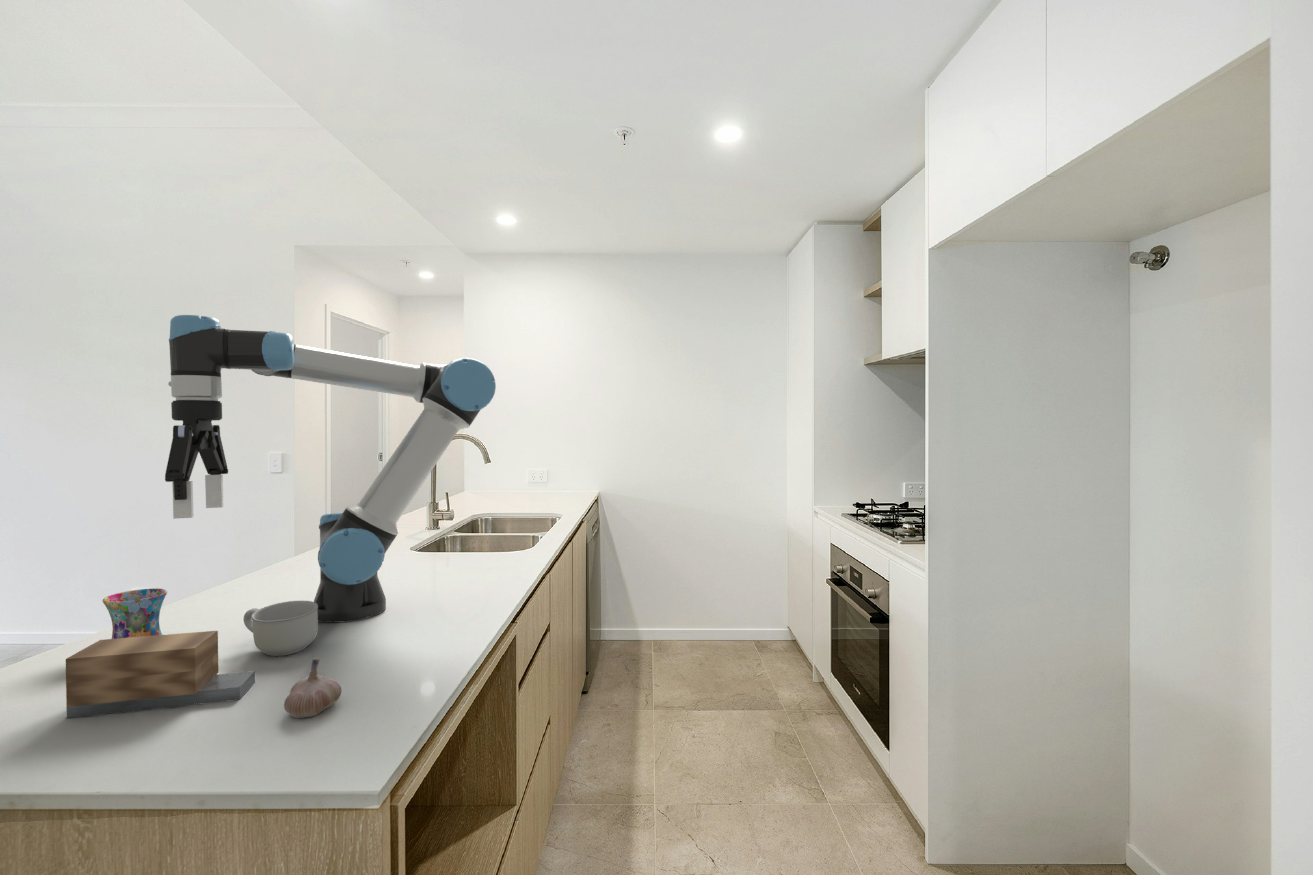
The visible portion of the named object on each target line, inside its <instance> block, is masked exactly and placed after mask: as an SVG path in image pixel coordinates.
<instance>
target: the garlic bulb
mask: <svg viewBox="0 0 1313 875" xmlns="http://www.w3.org/2000/svg"><path fill="white" fill-rule="evenodd" d="M319 662H320V658H319V657H313V658H312V660H311V665H310V671H309V673H308V674H309V675H307V677H306V676H305V677H304V678H301V679H300V680H298V681H297V682H295V684H294V685H293V686H292V687H291V688H290V691H289V694H288V695H287V696H286V698H285V700H284V704H283V707H284V708H283V709H284V710H285V712H286V713H287V714H289V715H290V716H291V717H293V718H295V719H296V718H297V719H302V718H307V717H308V718H309V717H311V718H312V717H315V716H317V715H318V714H319V715H320V714H321V713H322V712H323V711H324V710H326V708H329V707H330V706H333V704H334V703H335V702H337V701H338V700H339V698H340V697H341V695H342V686H341V684H340V683H339V682H338V681H336V680H335V679H331V678H327V677H325V676H322V675H320V674H319V675H318V666H319Z"/></svg>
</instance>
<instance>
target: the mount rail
mask: <svg viewBox="0 0 1313 875" xmlns="http://www.w3.org/2000/svg"><path fill="white" fill-rule="evenodd" d="M255 683H256V671H255V670H250V671H249V670H248V671H241V672H239V671H238V672H229V673H228V672H227V673H219V674H218V673H217V674H216V675H215V676H214V677H213V678H212V679H211V680H210V681H209V682H208V683H207V684H205V685H204V686H203V687H202V688H201V689H200V690H199V691H198V692H197V693H196V694H187V695H177V696H167V697H158V698H148V699H138V700H128V701H119V702H109V703H99V704H89V705H80V706H70V707H67V706H66V708H65V709H66V719H73V718H83V717H92V716H93V717H94V716H103V715H111V714H120V713H128V712H137V711H138V712H139V711H147V710H149V711H150V710H156V709H157V710H158V709H166V708H174V707H175V708H176V707H185V706H194V705H203V704H210V703H221V702H223V703H224V702H231V701H240V700H241V699H242V698H243V697H244V696H245V695H246V694H247V692H249V690H250V689H251V688H252V687H253V686H254V685H255Z"/></svg>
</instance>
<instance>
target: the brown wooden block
mask: <svg viewBox="0 0 1313 875" xmlns="http://www.w3.org/2000/svg"><path fill="white" fill-rule="evenodd" d="M218 673H219V631H218V630H210V631H209V630H207V631H196V632H195V631H194V632H185V633H183V632H182V633H171V634H162V635H156V636H143V637H130V638H118V639H111V638H108V639H107V638H106V639H99V640H97V641H95V642H94V643H92V644H89V646H87V647H85V648H83V649H81V650H79V651H78V652H76V653H74V654H72V655H70V656H68V657H67V658H65V689H66V690H65V696H66V700H65V701H66V703H65V704H66V706H67V707H70V706H80V705H89V704H99V703H109V702H119V701H128V700H138V699H148V698H158V697H167V696H177V695H187V694H196V693H197V692H198V691H199V690H200V689H201V688H202V687H203V686H204V685H205V684H207V683H208V682H209V681H210V680H211V679H212V678H213V677H214V676H215V675H216V674H218Z"/></svg>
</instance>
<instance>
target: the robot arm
mask: <svg viewBox="0 0 1313 875" xmlns="http://www.w3.org/2000/svg"><path fill="white" fill-rule="evenodd" d="M169 322H170V323H169V338H168V342H169V362H170V381H168V383H167V385H168V386H169V387H171V389H170V390H171V394H170V395H171V397H172V398H175V400H172V402H171V403H170V404H171V405H170V406H171V407H170V408H171V418H172V420H173V421H182V425H181V424H180V425H178V424H177V425H176V424H175V425H173V427H172V440H171V444H170V450H169V454H168V460H167V464H166V469H165V474H164V480H165V481H164V482H166V483H167V482H168V483H171V484H172V485H171V487H172V507H173V508H172V512H173V513H172V515H173V516H172V517H173V520H174V519H191V518H194V491H193V490H194V488H193V486H194V484H193V480H190V479H191V476H192V473H193V470H194V467H195V463H196V460H197V458H198V454H199V455H200V458H201V460H202V464H203V465H204V468H205V470H206V473H207V474H205V475H204V478H205V479H204V480H205V481H204V482H205V485H204V486H205V487H204V488H205V508H206V509H215V508H219V509H220V508H224V479H223V478H224V477H223V476H224V475H228V474H229V469H228V463H227V459H226V455H225V451H224V446H223V442H222V437H221V427H220V425H219V424H212V421H221V420H222V419H223V404H222V402H221V401H220V400H219V399H221V398H222V397H223V390H222V389H223V386H222V385H223V384H222V373H221V372H222V370H223V369H226V370H231V369H232V370H233V369H234V370H249V371H250V370H251V371H252V372H253V373H254V374H257V375H260V376H265V377H272V376H273V377H278V378H279V377H280V378H286V379H293V380H300V381H306V382H311V383H312V382H313V383H318V384H325V385H332V386H333V385H334V386H338V387H345V388H350V389H351V388H352V389H358V390H364V391H365V390H366V391H370V392H378V393H383V394H388V395H390V394H391V395H396V396H402V397H403V396H404V397H409V398H413V399H414V400H415V401H416V403H420V404H423V410H422V412H421V413H420V414H419V416H418V417H417V419H416V420H415V421H414V423H413V424H412V426H411V428H410V429H409V430H408V431H407V432H406V435H404V438H403V439H402V440H401V442H400V443H399V445H398V447H396V449H395V450H394V452H393V453H392V454H391V456H390V458H389V459H388V460H387V462H386V463H385V464H384V466H383V467H382V469H381V470H380V472H379V473H378V475H377V476H376V478H375V479H374V481H373V482H372V484H371V485H370V487H369V488H368V489H367V490H366V492H365V494H364V495H363V497H362V498H361V499H360V500H359V502H357V503H356V504H352V505H348V506H346V507H345V508H344V510H343V512H337V513H335V512H334V513H324V514H323V515H321V516H320V518H319V524H318V529H319V550H318V552H317V562H318V566H319V569H320V570H319V571H320V572H319V574H320V581H319V586H318V588H317V590H316V594H315V595H314V600H313V602H315V603H317V605H318V609H317V612H318V622H321V623H344V622H345V623H346V622H352V621H359V620H363V619H368V618H370V617H374V616H376V615H378V614H381V613H382V612H384V611H385V610H386V609H387V599H386V595H385V592H384V590H383V587H382V585H381V581H380V578H379V576H378V571H379V570H380V569H381V567H382V566H383V562H384V561H385V555H386V552H387V551H388V549H389V548H390V546H391V545H392V544H393V543H394V540H396V537H397V536H398V534H399V532H398V527H397V523H398V522H399V520H400V518H401V517H402V515H403V514H404V513H405V511H406V509H407V508H408V506H409V505H410V503H411V501H413V499H414V497H415V496H416V495H417V494H418V492H419V490H420V488H421V487H422V485H423V484H424V483H425V481H426V479H427V478H428V476H429V475H430V474H431V473H432V470H433V469H434V468H435V466H436V464H437V463H438V462H439V460H440V459H441V458H442V456H443V454H444V453H445V451H446V450H447V448H448V447H449V446H450V443H452V442H453V439H454V437H455V436H456V435H457V433H459V431H460V430H462V429H463V430H464V429H468V428H470V426H471V425H472V424H473V422H474V421H475V420H476V418H477V416H478V415H479V413H480V411H481V410H483V409H484V408H485V407H487V405H489V404H491V402H492V400H493V398H494V395H495V393H496V390H497V389H496V388H497V386H496V379H495V375H494V374H493V372H492V371H491V369H490V368H489V366H488V365H486V364H485V363H484V362H482V361H480V360H479V359H475V358H470V357H459V358H456V359H453V360H451V361H450V362H449V363H447V364H446V363H444V364H435V363H428V362H422V363H420V364H418V365H414V364H408V363H402V362H398V361H392V360H385V359H381V358H375V357H369V356H363V355H359V354H358V355H357V354H351V353H346V352H340V351H335V350H329V349H324V348H318V347H311V346H307V345H306V346H305V345H300V344H294V337H293V335H291V334H290V333H288V332H287V333H286V332H280V331H279V332H278V331H275V330H269V331H263V330H237V329H227V328H222V326H221V324H220V323H221V322H220V321H219V319H217V318H215V317H212V316H206V315H205V316H204V315H196V314H179V315H174V316H173V317H172V318H171V319H170V321H169Z"/></svg>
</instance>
